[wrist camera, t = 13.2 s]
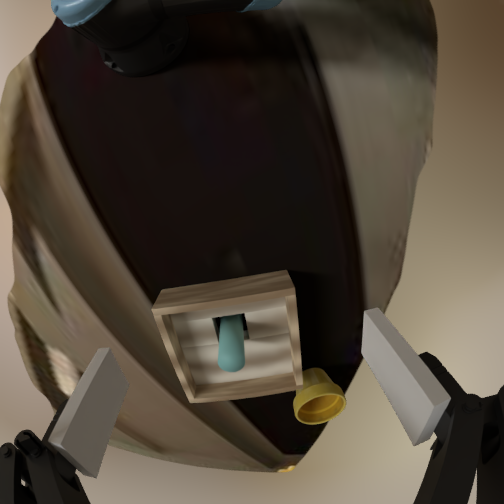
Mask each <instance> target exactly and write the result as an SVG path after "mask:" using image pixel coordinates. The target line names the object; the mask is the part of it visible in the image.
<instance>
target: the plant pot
mask: <svg viewBox="0 0 504 504" xmlns="http://www.w3.org/2000/svg"><path fill="white" fill-rule="evenodd" d="M302 378H303V389H298V390H296V397H295V399H294V403H293V405H294V411H295V416H296V418H297V419H298V420H299V421H300V422H302V423H305V424H319V423H323V422H326V421H329V420H331V419H333V418H335V417H336V416H338V415H339V414H340V413H341V412H342V411H343V410H344V408H345V406H346V398H345V396H344V394H343V391H342V390H341V388H340V387H339V386H338V385H337V384H334V383H333V381H332V380H331V379H330V378H329V376H328V375H327V374H326V372H325V371H324V370H322V369H320V368H310V369H307V370H305V371H303V372H302Z"/></svg>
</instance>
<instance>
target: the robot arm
mask: <svg viewBox="0 0 504 504" xmlns="http://www.w3.org/2000/svg"><path fill="white" fill-rule="evenodd" d="M281 1H282V0H51V6H52V10H53V12H54V13H55V15H56V16H58V17H59V18H60V19H61V20H62V21H63V23H64V24H65V25H67V26H69V27H70V28H72V29H73V30H75V31H77V32H78V33H80V34H81V35H83V36H84V37H86V38H87V39H89V40H90V41H92V42H93V43H94V44H96V45H97V46H98V48H99V51H100V54H101V57H102V59H103V61H104V63H105V64H106V65H107V66H108V67H109V68H110V69H111V70H113V71H114V72H116V73H118V74H120V75H122V76H127V77H141V76H146V75H149V74H152V73H155V72H157V71H159V70H161V69H162V68H164V67H166V66H167V65H168V64H170V63H171V62H172V61H173V60H174V59H175V58H176V57H177V56H178V55H179V54H180V53H181V51H182V50H183V48H184V47H185V45H186V42H187V40H188V36H189V25H188V22H187V19H186V16H189V15H196V14H205V13H214V12H227V11H236V12H245V11H249V10H267V9H271V8H273V7H275V6H277V5H278V4H279V3H280V2H281ZM361 353H362V355H363V357H364V358H365V360H366V362H367V363H368V365H369V367H370V368H371V370H372V372H373V373H374V375H375V377H376V379H377V380H378V382H379V384H380V386H381V387H382V389H383V391H384V393H385V394H386V396H387V398H388V400H389V402H390V403H391V405H392V407H393V409H394V411H395V412H396V414H397V416H398V418H399V419H400V421H401V423H402V425H403V427H404V429H405V431H406V432H407V434H408V436H409V438H410V440H411V442H412V444H413V446H416V445H418V444H420V443H423V442H425V441H427V440H428V439H430V437H431V436H432V434H433V432H434V433H435V434H436V436H437V439H436V440H435V442H434V443H433V445H432V447H431V448H430V450H432V449H433V451H432V455H431V458H430V461H429V464H428V467H427V470H426V473H425V476H424V479H423V481H422V484H421V487H420V489H419V491H418V494H417V496H416V499H415V501H414V503H413V504H467V503H468V500H469V496H470V493H471V489H472V486H473V482H474V478H475V474H476V469H477V500H476V504H504V385H503V386H502V387H501V388H500V390H499V392H498V394H496V395H493V396H489V397H485V398H480V397H479V396H478V395H475V394H467V393H466V392H465V391H464V390H463V389H462V388H461V386H460V385H459V384H458V383H457V381H456V380H455V379H454V378H453V377H452V375H451V374H450V373H449V372H447V370H446V368H445V367H444V366H442V363H441V362H440V361H439V360H438V359H437V358H436V357H435V356H433V355H431V354H430V353H428V352H425V353H422V354H420V355H417V353H416V352H415V351H414V350H413V349H412V347H411V346H410V345H409V344H408V342H407V341H406V340H405V339H404V338H403V337H402V335H401V334H400V333H399V332H398V330H397V329H396V328H395V327H394V326H393V325H392V323H391V322H390V321H389V320H388V319H387V318H386V316H385V315H384V314H383V313H382V312H381V311H380V309H379V308H374V309H370V310H366V311H364V325H363V339H362V351H361ZM128 387H129V383H128V381H127V379H126V378H125V376H124V374H123V372H122V370H121V368H120V367H119V365H118V363H117V361H116V359H115V357H114V355H113V353H112V351H111V349H110V348H99V349H98V350H97V352H96V354H95V355H94V357H93V359H92V360H91V362H90V364H89V365H88V367H87V369H86V370H85V372H84V374H83V376H82V377H81V379H80V381H79V383H78V384H77V386H76V388H75V390H74V391H73V393H72V395H71V397H70V399H66V400H65V401H64V402H63V403H62V404H61V405H60V406H59V408H58V410H57V412H56V415H55V416H54V418H53V421H51V423H50V425H49V427H48V429H47V431H46V433H45V435H44V437H43V439H42V441H41V440H40V439H39V438H38V437H37V436H36V435H35V434H34V433H33V432H32V431H31V430H23V431H21V432H20V433H19V434H18V435H17V436H16V438H15V440H14V445H15V446H16V447H17V448H18V449H17V448H16V447H15V446H14V445H13V444H12V443H5V444H3V445H2V446H1V447H0V504H90V502H89V500H88V498H87V496H86V493H85V491H84V489H83V487H82V485H81V482H80V480H79V477H78V476H77V474H75V471H76V469H77V470H78V471H80V472H81V473H82V474H83V475H86V476H89V477H94V478H97V475H98V472H99V469H100V466H101V463H102V459H103V456H104V453H105V450H106V447H107V444H108V442H109V439H110V436H111V433H112V430H113V427H114V424H115V422H116V419H117V416H118V413H119V411H120V408H121V405H122V403H123V400H124V397H125V395H126V392H127V390H128ZM21 479H22V480H23V481H25V486H23V485H22V484H21Z"/></svg>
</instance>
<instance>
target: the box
mask: <svg viewBox="0 0 504 504" xmlns="http://www.w3.org/2000/svg"><path fill="white" fill-rule="evenodd" d="M152 312H153V315H154V318H155V320H156V323H157V326H158V329H159V331H160V334H161V336H162V339H163V342H164V344H165V347H166V349H167V352H168V354H169V357H170V359H171V361H172V364H173V366H174V369H175V371H176V373H177V375H178V378H179V380H180V382H181V385H182V387H183V389H184V391H185V393H186V395H187V398H188V400H189V402H190V403H200V402H213V401H224V400H234V399H242V398H250V397H257V396H264V395H270V394H276V393H282V392H288V391H293V390H298V389H303V378H302V364H301V351H300V338H299V326H298V315H297V305H296V294H295V287H294V285H293V283H292V280H291V278H290V276H289V274H288V271H287V270H283V271H277V272H271V273H265V274H259V275H253V276H247V277H241V278H235V279H229V280H222V281H216V282H210V283H203V284H197V285H190V286H184V287H177V288H170V289H163V290H161V292H160V294H159V296H158V298H157V300H156V302H155V304H154V306H153V308H152ZM241 313H245V318H246V323H247V328H248V330H245V331H243V332H244V349H245V366H244V367H243V368H242V369H241V370H239V371H237V372H227V371H224V370H222V369H221V368H220V367H219V365H218V350H219V336H220V334H219V330H218V327H217V323H216V319H215V317H221V316H228V315H235V314H241Z"/></svg>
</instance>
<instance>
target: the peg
mask: <svg viewBox="0 0 504 504" xmlns="http://www.w3.org/2000/svg"><path fill="white" fill-rule="evenodd" d="M218 365H219V367H220V368H221V369H222V370H224V371H227V372H237V371H239V370H241V369H242V368H243V367H244V366H245V349H244V332H243V318H242V316H241V314H235V315H228V316H221V323H220V336H219V350H218Z"/></svg>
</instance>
